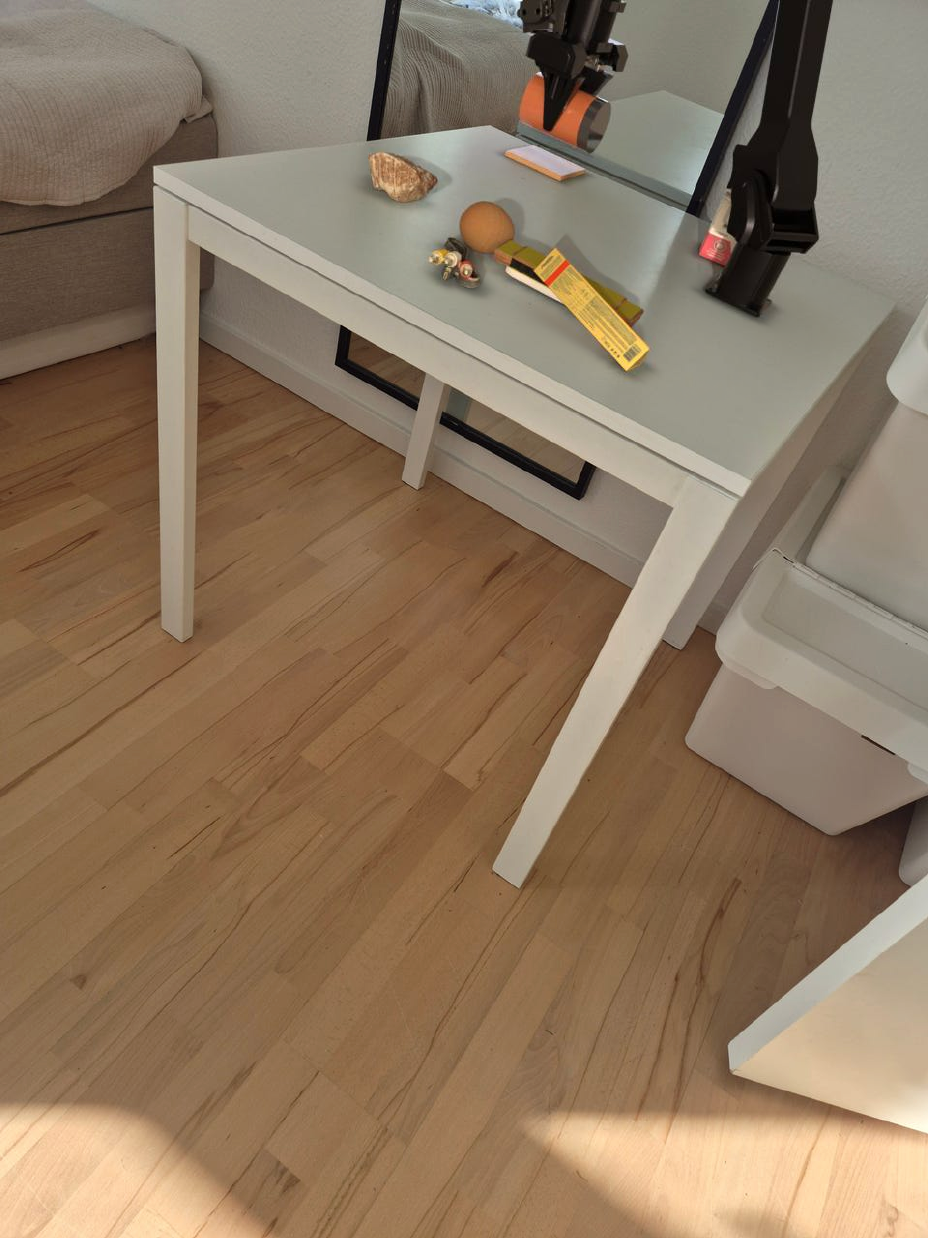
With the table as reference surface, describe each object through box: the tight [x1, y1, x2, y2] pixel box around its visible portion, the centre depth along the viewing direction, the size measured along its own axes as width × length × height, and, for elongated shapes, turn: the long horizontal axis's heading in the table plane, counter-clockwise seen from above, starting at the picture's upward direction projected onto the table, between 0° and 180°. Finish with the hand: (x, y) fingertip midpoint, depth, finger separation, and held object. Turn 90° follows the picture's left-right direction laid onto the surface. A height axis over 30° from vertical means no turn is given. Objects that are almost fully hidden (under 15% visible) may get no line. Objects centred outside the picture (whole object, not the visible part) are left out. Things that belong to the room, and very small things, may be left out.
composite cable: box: [428, 236, 481, 289], centre depth 75 cm, size 10×5×2 cm, turn 169°
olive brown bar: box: [492, 240, 645, 329], centre depth 76 cm, size 15×3×2 cm, turn 60°
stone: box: [367, 151, 439, 204], centre depth 84 cm, size 7×6×5 cm
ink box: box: [698, 188, 774, 267], centre depth 97 cm, size 9×5×12 cm, turn 68°
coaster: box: [504, 144, 587, 182], centre depth 110 cm, size 8×8×1 cm
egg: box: [459, 200, 516, 254], centre depth 79 cm, size 4×4×6 cm
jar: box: [519, 71, 612, 155], centre depth 106 cm, size 10×6×6 cm, turn 59°
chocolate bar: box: [534, 247, 651, 372], centre depth 71 cm, size 3×12×2 cm
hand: (556, 128), depth 107 cm, fingers closed on jar, 6 cm apart
